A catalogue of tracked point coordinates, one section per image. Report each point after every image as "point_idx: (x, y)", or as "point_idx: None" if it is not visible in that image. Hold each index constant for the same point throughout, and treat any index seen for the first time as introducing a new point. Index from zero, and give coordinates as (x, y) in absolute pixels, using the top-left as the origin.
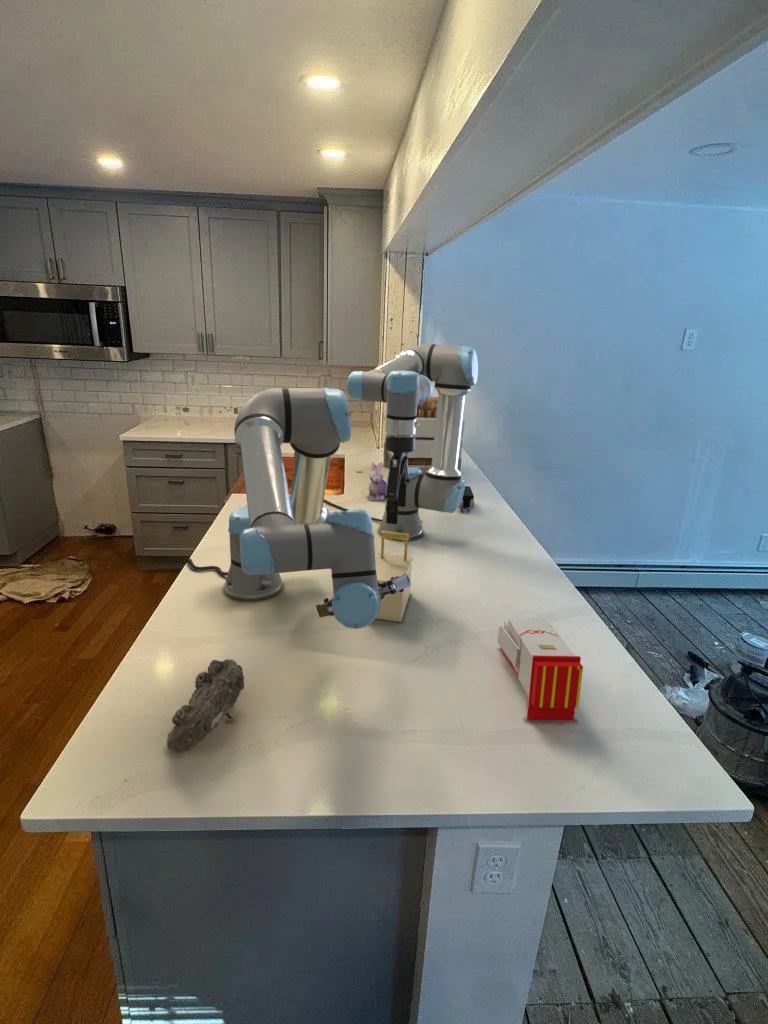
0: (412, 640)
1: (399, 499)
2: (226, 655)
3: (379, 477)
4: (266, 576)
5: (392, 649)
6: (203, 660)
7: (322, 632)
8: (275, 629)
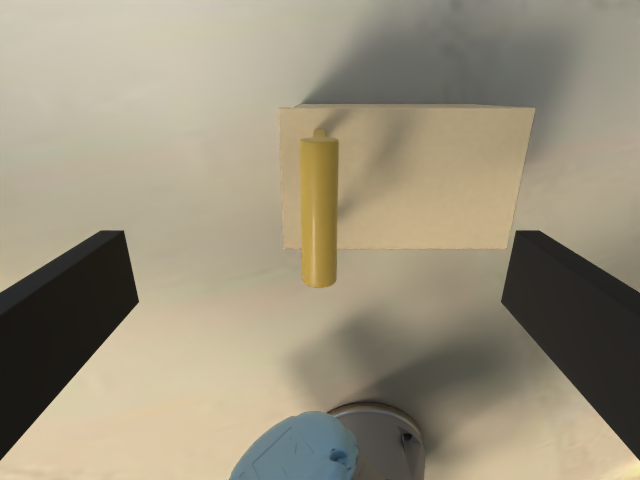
0: (564, 54)
1: (101, 306)
2: None
3: None
4: (403, 457)
5: (608, 104)
6: None
7: None
8: (525, 363)
